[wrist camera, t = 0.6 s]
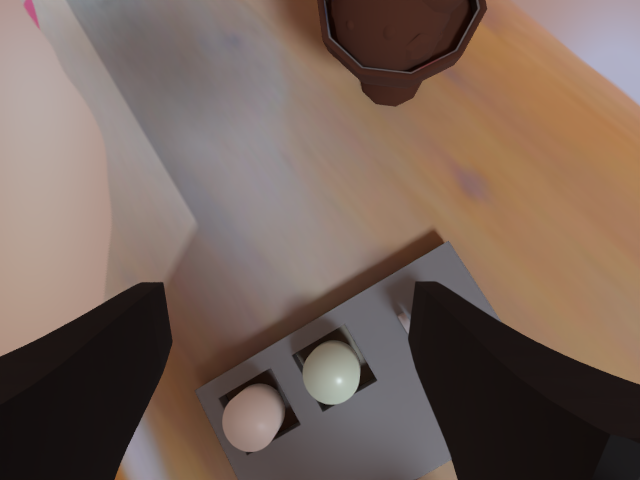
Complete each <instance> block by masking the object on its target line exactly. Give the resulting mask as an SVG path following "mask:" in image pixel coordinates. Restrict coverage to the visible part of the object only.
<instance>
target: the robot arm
mask: <svg viewBox="0 0 640 480" xmlns="http://www.w3.org/2000/svg"><path fill="white" fill-rule="evenodd" d="M408 342H409V346H410V350H411V354H412V358H413V362H414V365H415V369H416V372H417V374H418V377H419V379H420V382H421V384H422V387H423V389H424V392H425V394H426V396H427V399H428V401H429V404H430V406H431V408H432V411H433V413H434V415H435V418H436V420H437V423H438V425H439V427H440V430H441V432H442V435H443V437H444V439H445V442H446V445H447V447H448V450H449V453H450V456H451V459H452V462H453V465H454V469H455V472H456V475H457V478H458V480H640V385H639V384H636V383H633V382H631V381H628V380H625V379H622V378H620V377H617V376H614V375H611V374H609V373H606V372H604V371H601V370H599V369H596V368H594V367H591V366H589V365H586V364H584V363H581V362H579V361H577V360H574V359H572V358H570V357H567V356H565V355H563V354H561V353H559V352H557V351H555V350H552V349H550V348H548V347H546V346H544V345H542V344H540V343H538V342H536V341H534V340H532V339H530V338H528V337H526V336H525V335H523V334H521V333H519V332H517V331H516V330H514V329H512V328H510V327H509V326H507V325H505V324H503V323H502V322H500V321H499V320H497V319H495V318H494V317H492V316H490V315H489V314H487V313H486V312H484V311H482V310H481V309H479V308H478V307H476V306H475V305H473V304H472V303H470V302H469V301H467V300H466V299H464V298H463V297H461V296H460V295H458V294H457V293H455V292H453V291H452V290H450V289H449V288H447V287H446V286H444V285H442V284H440V283H439V282H437V281H415V288H414V296H413V304H412V311H411V319H410V327H409V334H408ZM171 346H172V335H171V329H170V322H169V316H168V310H167V303H166V297H165V291H164V284H163V282H141V283H139V284H137V285H135V286H133V287H131V288H129V289H127V290H125V291H123V292H122V293H120V294H118V295H116V296H115V297H113V298H111V299H110V300H108V301H106V302H104V303H103V304H101V305H99V306H98V307H96V308H94V309H92V310H91V311H89V312H87V313H86V314H84V315H82V316H80V317H79V318H77V319H75V320H73V321H71V322H69V323H67V324H66V325H64V326H62V327H60V328H58V329H57V330H54V331H52V332H51V333H49V334H47V335H45V336H43V337H41V338H39V339H37V340H35V341H33V342H31V343H29V344H27V345H25V346H23V347H21V348H18V349H16V350H14V351H12V352H9V353H7V354H5V355H3V356H1V357H0V480H114V479H115V476H116V474H117V471H118V468H119V466H120V463H121V461H122V458H123V456H124V454H125V452H126V449H127V447H128V445H129V443H130V441H131V439H132V437H133V435H134V432H135V430H136V428H137V426H138V424H139V422H140V420H141V418H142V416H143V414H144V412H145V410H146V408H147V406H148V404H149V402H150V399H151V397H152V395H153V393H154V391H155V389H156V387H157V385H158V383H159V380H160V378H161V376H162V374H163V371H164V368H165V365H166V362H167V359H168V356H169V352H170V349H171Z"/></svg>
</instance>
